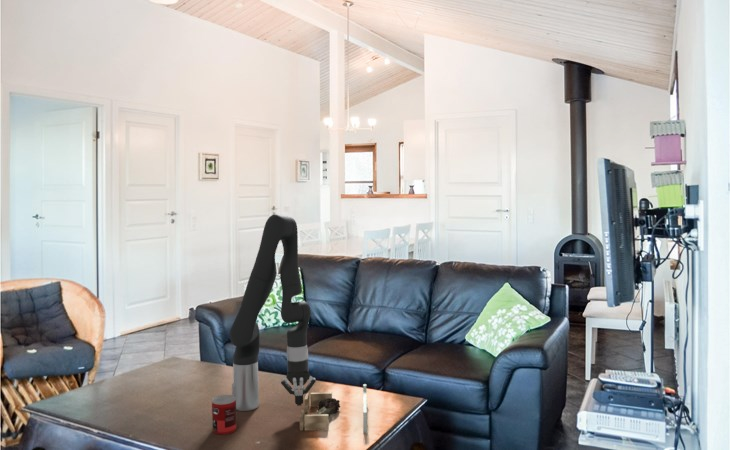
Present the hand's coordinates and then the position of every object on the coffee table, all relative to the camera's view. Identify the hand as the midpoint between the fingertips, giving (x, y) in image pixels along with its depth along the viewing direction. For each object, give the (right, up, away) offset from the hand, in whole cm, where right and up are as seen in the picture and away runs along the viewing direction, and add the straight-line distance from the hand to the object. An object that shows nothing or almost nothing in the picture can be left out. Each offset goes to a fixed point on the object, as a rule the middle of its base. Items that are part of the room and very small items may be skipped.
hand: (299, 404), depth 197 cm
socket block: (+6, -4, 0) cm, 8 cm away
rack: (+24, -4, 0) cm, 24 cm away
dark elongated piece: (+9, -5, -1) cm, 10 cm away
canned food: (-24, -5, -11) cm, 27 cm away
